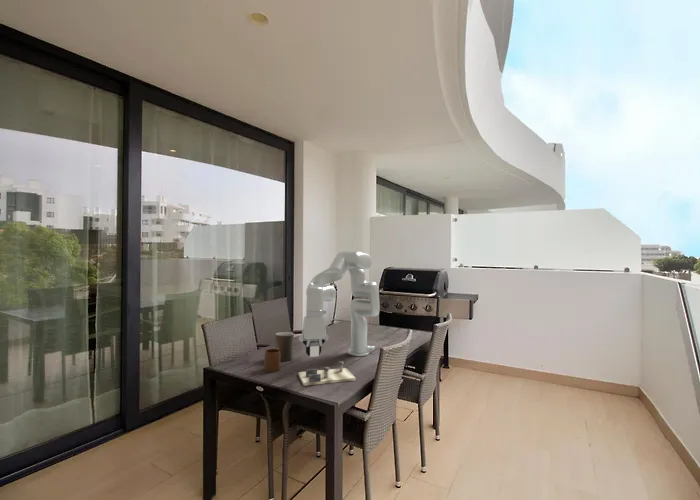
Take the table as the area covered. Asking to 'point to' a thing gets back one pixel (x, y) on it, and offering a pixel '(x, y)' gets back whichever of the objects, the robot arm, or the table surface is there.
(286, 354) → the pillar candle
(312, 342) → the grey rectangular block
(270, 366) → the mug
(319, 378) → the board
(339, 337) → the table surface
